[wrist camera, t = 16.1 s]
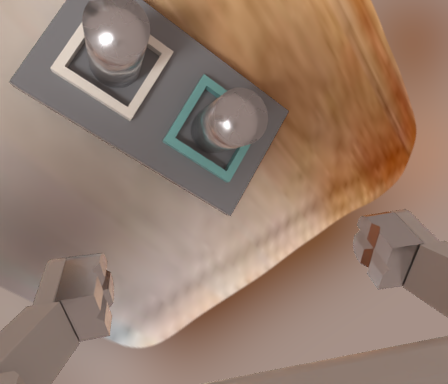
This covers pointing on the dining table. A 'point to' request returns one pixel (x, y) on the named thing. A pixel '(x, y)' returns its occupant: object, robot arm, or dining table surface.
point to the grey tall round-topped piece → (115, 40)
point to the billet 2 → (230, 121)
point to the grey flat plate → (149, 103)
